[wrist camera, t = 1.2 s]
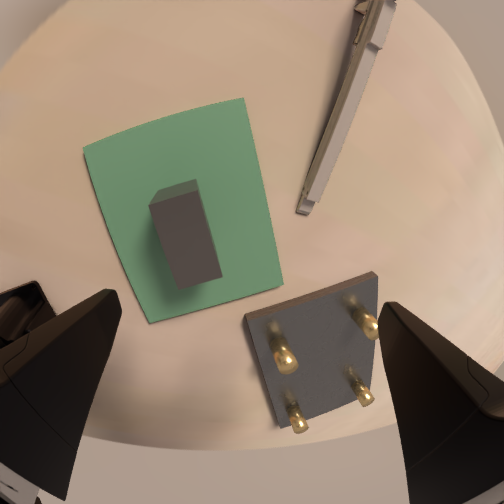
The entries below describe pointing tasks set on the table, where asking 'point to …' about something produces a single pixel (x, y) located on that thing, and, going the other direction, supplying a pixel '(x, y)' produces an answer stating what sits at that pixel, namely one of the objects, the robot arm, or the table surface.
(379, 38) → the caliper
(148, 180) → the board
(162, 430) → the table surface
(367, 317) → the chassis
